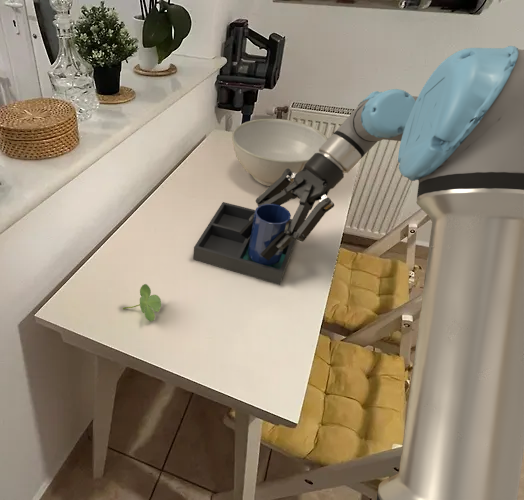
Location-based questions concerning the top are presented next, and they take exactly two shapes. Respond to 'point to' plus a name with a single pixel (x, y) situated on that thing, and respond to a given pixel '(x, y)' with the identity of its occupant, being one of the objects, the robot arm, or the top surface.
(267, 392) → the top surface
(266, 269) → the tray
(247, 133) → the decorative bowl
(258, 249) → the cup
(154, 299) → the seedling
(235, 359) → the top surface
